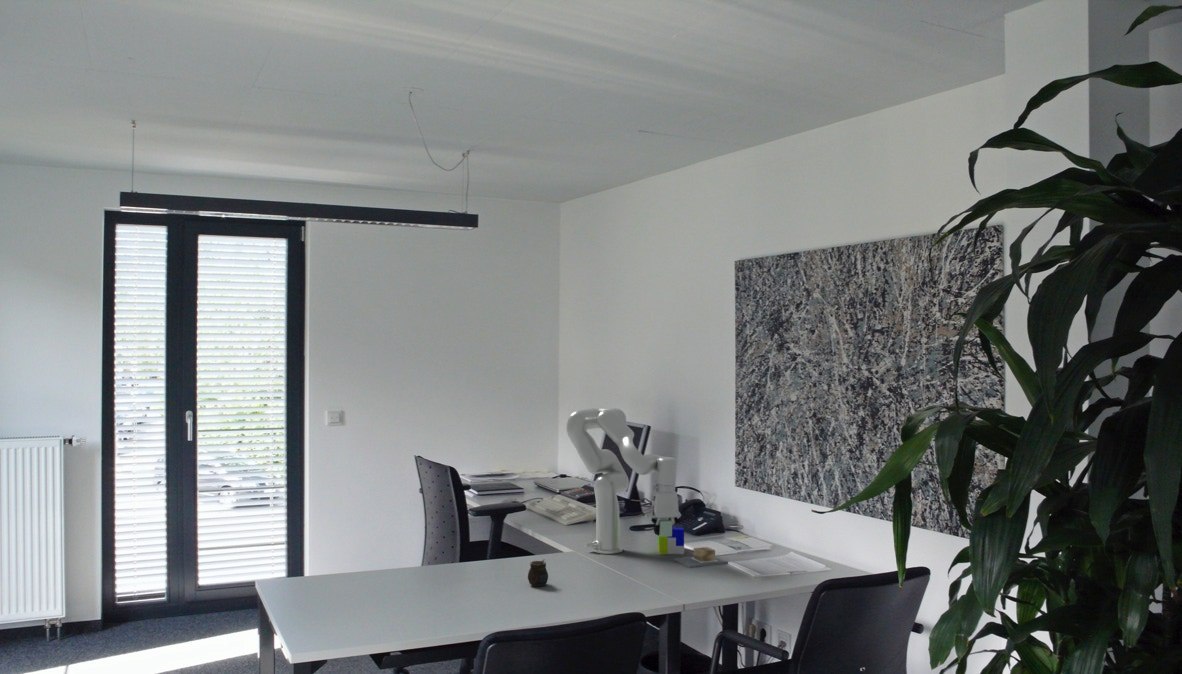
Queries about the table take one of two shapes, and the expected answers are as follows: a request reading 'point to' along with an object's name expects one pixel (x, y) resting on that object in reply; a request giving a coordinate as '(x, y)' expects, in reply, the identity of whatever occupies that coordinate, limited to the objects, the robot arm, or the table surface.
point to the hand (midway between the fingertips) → (663, 533)
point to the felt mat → (699, 562)
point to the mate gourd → (538, 573)
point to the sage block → (665, 527)
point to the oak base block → (704, 554)
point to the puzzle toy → (672, 542)
